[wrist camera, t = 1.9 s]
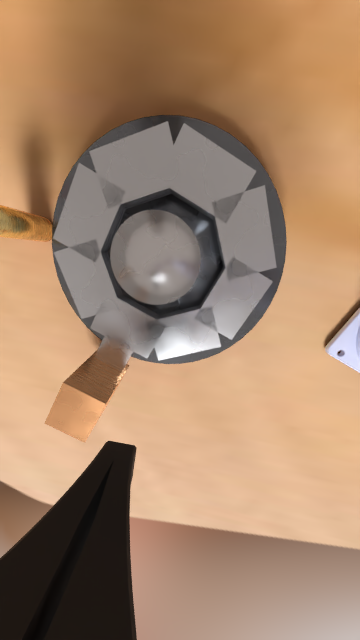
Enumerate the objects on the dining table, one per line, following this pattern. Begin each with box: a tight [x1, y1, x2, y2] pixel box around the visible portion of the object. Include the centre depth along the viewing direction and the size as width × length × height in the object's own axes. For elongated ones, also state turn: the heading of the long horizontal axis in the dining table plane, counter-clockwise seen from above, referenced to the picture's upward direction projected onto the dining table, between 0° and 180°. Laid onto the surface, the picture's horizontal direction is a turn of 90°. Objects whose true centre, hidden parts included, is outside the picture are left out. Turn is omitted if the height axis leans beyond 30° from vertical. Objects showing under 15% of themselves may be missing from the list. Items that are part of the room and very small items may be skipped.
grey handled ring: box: [45, 121, 277, 442], centre depth 11 cm, size 16×12×4 cm
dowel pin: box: [0, 205, 53, 242], centre depth 12 cm, size 2×2×5 cm
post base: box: [52, 115, 286, 364], centre depth 12 cm, size 14×14×6 cm
